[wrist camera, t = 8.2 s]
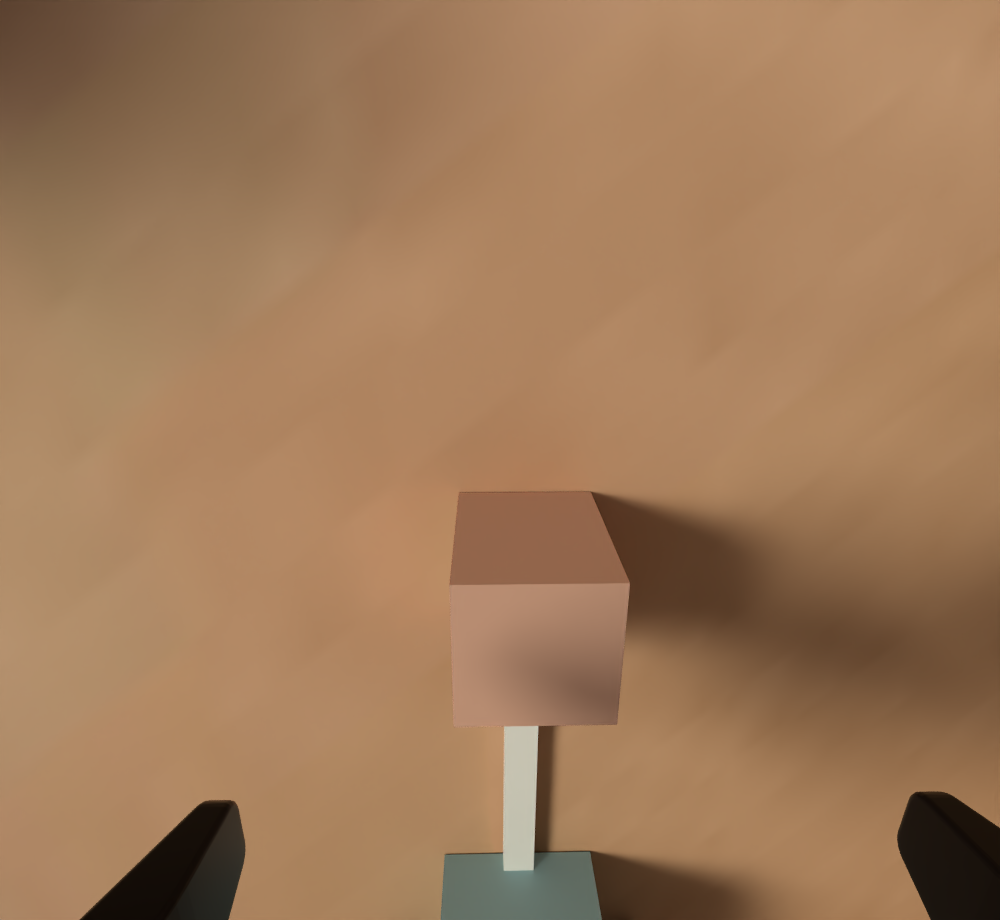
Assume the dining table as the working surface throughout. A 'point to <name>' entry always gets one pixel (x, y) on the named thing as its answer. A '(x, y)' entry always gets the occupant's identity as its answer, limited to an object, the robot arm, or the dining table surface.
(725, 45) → the dining table surface
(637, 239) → the dining table surface
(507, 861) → the tethered block
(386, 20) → the dining table surface
